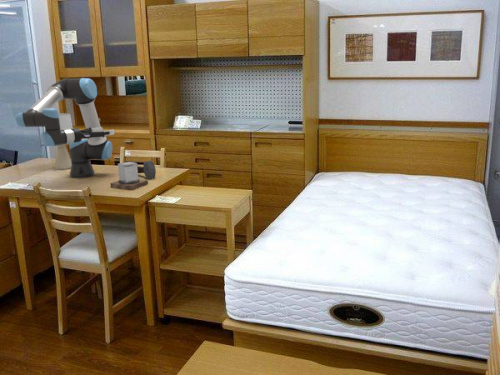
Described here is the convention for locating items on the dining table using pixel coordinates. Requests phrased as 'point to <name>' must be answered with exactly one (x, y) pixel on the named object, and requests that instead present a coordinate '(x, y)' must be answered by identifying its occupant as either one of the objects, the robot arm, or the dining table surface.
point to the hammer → (148, 169)
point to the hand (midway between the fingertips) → (108, 130)
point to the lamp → (62, 154)
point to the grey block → (128, 171)
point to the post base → (129, 184)
